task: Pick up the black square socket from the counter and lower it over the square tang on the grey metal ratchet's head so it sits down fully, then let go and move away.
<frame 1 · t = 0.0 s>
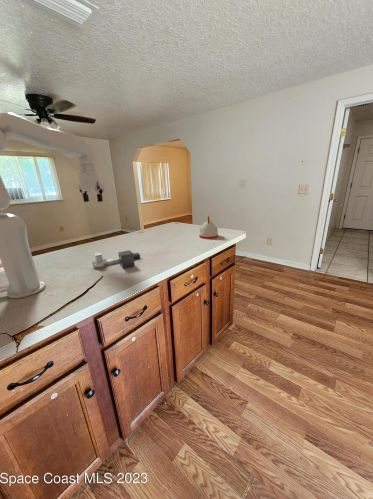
hand: (93, 201, 115), 31 cm above the countertop, tool pointing down, fingers open, 9 cm apart
ratchet: (100, 265, 107), on the countertop
grey bell: (208, 236, 155), on the countertop
socket: (127, 265, 106), on the countertop
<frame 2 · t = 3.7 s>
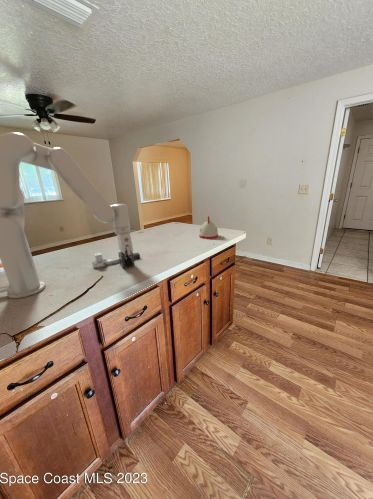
hand: (127, 263, 106), 1 cm above the countertop, tool pointing down, fingers closed on socket, 6 cm apart
socket: (127, 265, 106), on the countertop, touching gripper
everything else where it was.
when the fingers open (4 cm above the countertop, at t = 10.2 s): socket stays where it is, resting on ratchet.
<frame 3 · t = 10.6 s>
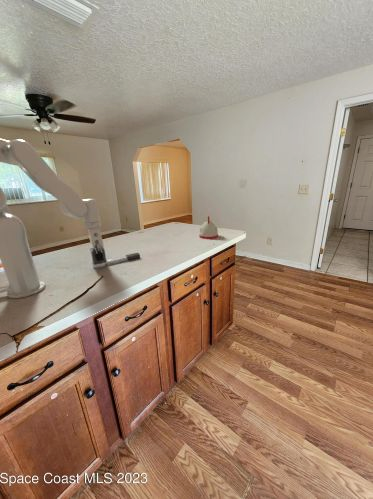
hand: (98, 257, 106), 5 cm above the countertop, tool pointing down, fingers open, 9 cm apart
ratchet: (100, 265, 107), on the countertop, touching socket
socket: (99, 261, 106), point 2 cm above the countertop, touching ratchet
everything else where it was.
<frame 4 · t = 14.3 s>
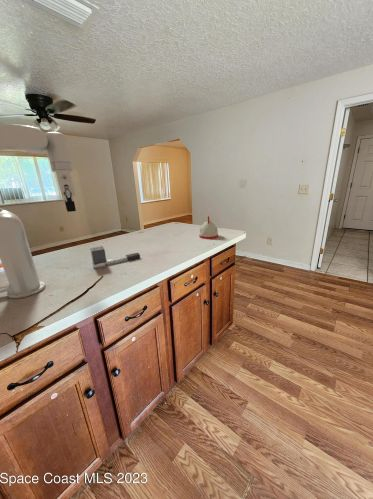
hand: (71, 210, 89), 30 cm above the countertop, tool pointing down, fingers open, 9 cm apart
nothing on the countertop moved.
at the end: socket 0.0 cm off-centre on the ratchet, point 2.5 cm above the ratchet's base; socket tilted 0°; the gripper is holding nothing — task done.
